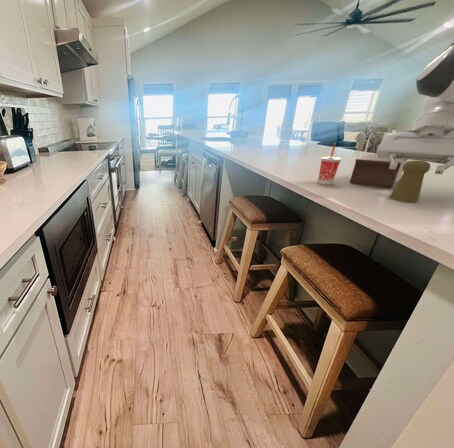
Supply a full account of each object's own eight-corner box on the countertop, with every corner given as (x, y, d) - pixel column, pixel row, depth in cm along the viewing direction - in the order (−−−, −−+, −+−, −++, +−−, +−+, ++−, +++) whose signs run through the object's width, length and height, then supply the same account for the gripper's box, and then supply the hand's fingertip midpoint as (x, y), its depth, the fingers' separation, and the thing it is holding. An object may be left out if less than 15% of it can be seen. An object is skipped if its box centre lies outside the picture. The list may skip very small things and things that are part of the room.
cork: (399, 202, 68) (414, 163, 64) (384, 195, 74) (397, 159, 69) (424, 202, 67) (441, 162, 63) (407, 196, 73) (422, 159, 68)
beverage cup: (331, 180, 91) (341, 142, 86) (337, 185, 86) (349, 144, 80) (313, 180, 93) (321, 142, 87) (318, 184, 88) (328, 144, 82)
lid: (400, 165, 76) (401, 162, 76) (355, 161, 84) (355, 159, 84) (407, 158, 84) (408, 156, 84) (365, 155, 93) (366, 153, 92)
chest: (391, 188, 80) (400, 164, 77) (349, 182, 88) (355, 161, 85) (399, 180, 88) (407, 159, 84) (359, 176, 96) (365, 156, 93)
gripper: (386, 123, 75) (368, 159, 73) (494, 123, 60) (474, 168, 59) (384, 137, 79) (367, 171, 78) (484, 140, 65) (465, 182, 63)
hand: (414, 170), depth 68 cm, fingers open, 8 cm apart
